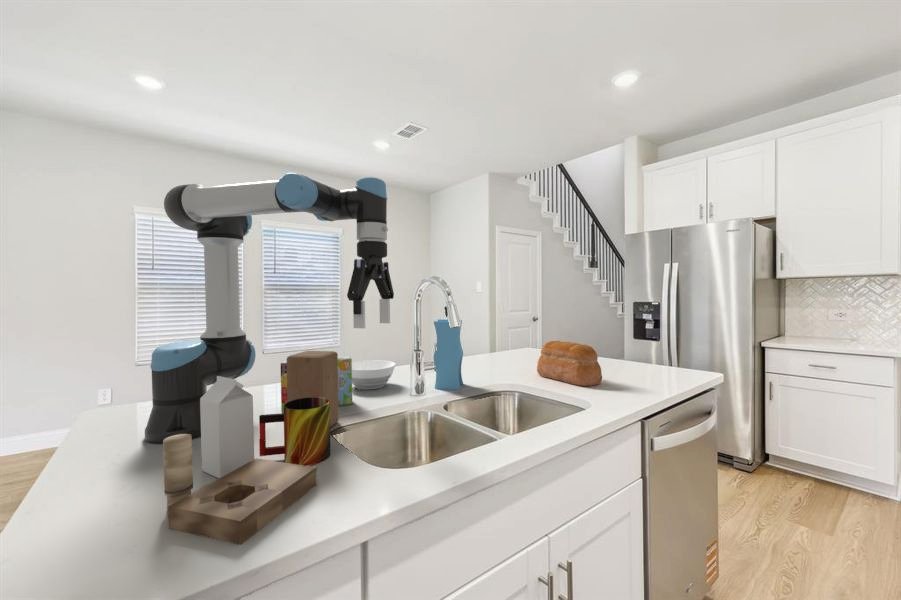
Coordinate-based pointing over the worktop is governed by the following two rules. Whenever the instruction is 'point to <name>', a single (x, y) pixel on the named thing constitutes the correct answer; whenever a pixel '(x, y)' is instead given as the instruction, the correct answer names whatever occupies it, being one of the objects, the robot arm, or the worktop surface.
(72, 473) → the worktop surface
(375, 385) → the bowl
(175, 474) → the peg
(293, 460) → the mug
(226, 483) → the board
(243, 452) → the milk carton
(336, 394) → the wooden block
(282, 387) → the snack box
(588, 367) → the bread
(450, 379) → the vase
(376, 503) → the worktop surface
